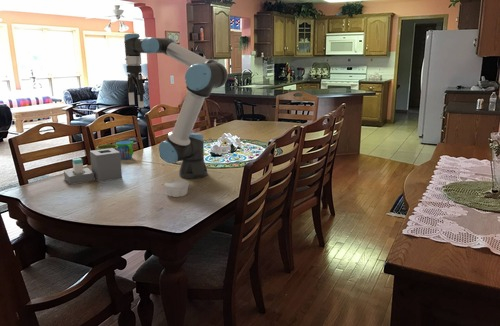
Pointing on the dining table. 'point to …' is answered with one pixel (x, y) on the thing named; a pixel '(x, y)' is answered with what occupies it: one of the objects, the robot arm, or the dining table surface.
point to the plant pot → (107, 147)
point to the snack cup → (125, 149)
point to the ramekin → (176, 188)
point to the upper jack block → (106, 164)
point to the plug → (78, 165)
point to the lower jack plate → (79, 176)
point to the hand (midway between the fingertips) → (136, 106)
